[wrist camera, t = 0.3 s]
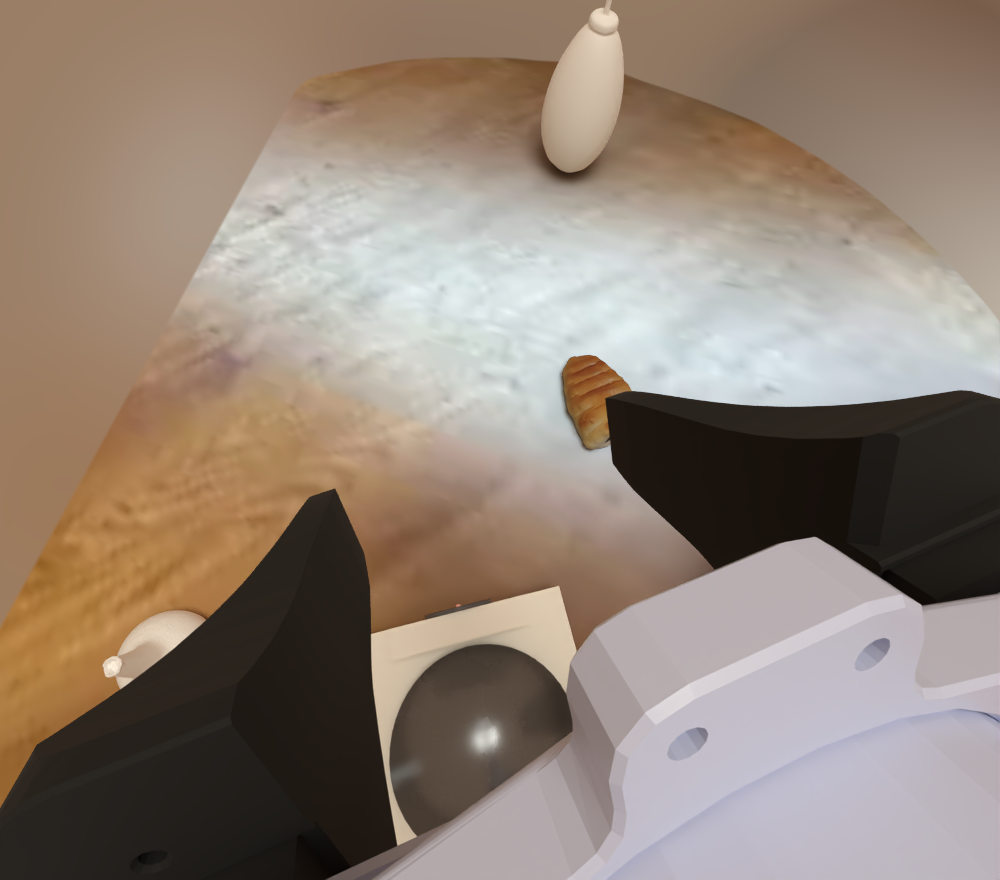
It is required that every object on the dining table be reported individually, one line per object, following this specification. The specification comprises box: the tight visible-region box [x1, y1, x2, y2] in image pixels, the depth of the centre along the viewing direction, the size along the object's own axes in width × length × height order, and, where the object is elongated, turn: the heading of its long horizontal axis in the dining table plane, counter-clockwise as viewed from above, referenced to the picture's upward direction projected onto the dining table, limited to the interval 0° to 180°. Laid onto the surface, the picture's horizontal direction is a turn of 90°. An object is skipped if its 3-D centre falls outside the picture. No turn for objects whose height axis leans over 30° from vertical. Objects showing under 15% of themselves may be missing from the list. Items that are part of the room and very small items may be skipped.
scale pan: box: [389, 644, 573, 836], centre depth 33 cm, size 13×13×1 cm
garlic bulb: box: [102, 610, 206, 689], centre depth 33 cm, size 6×6×8 cm
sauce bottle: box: [541, 0, 624, 173], centre depth 49 cm, size 8×8×18 cm
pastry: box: [562, 355, 631, 449], centre depth 46 cm, size 9×7×4 cm
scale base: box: [371, 586, 577, 846], centre depth 33 cm, size 18×16×6 cm
